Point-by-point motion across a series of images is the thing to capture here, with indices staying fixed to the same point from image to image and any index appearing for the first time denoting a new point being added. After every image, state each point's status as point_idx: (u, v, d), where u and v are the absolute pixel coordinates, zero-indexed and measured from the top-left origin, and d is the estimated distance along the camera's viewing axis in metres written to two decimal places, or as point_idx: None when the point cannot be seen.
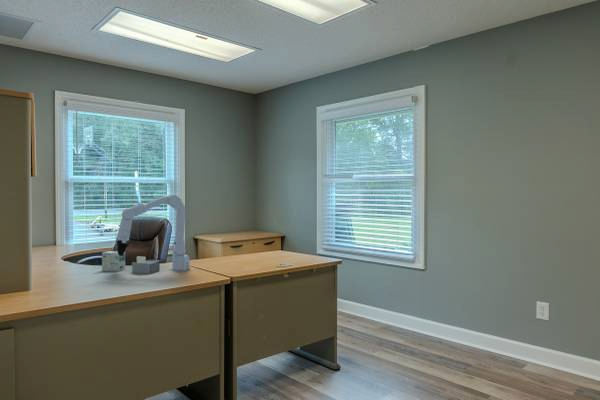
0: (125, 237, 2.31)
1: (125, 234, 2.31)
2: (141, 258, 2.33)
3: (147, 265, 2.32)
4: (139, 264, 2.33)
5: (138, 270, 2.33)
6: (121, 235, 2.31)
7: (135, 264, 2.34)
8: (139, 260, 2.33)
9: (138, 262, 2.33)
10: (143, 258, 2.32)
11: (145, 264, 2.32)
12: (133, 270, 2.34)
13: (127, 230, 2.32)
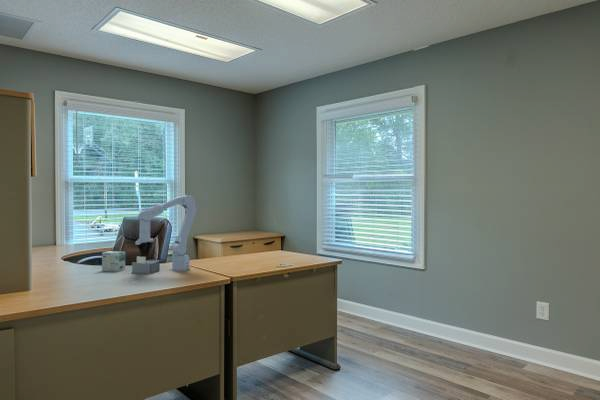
0: (143, 239, 2.33)
1: (142, 236, 2.33)
2: (141, 258, 2.33)
3: (147, 265, 2.32)
4: (139, 264, 2.33)
5: (138, 270, 2.33)
6: (140, 237, 2.34)
7: (135, 264, 2.34)
8: (139, 260, 2.33)
9: (138, 262, 2.33)
10: (143, 258, 2.32)
11: (145, 264, 2.32)
12: (133, 270, 2.34)
13: (148, 231, 2.35)
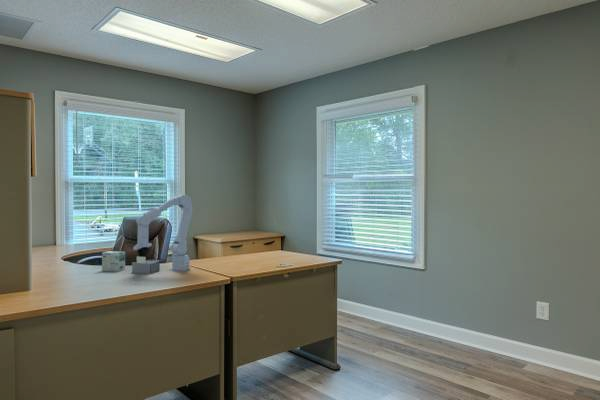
0: (141, 244, 2.32)
1: (140, 241, 2.32)
2: (141, 258, 2.33)
3: (147, 265, 2.32)
4: (139, 264, 2.33)
5: (138, 270, 2.33)
6: (138, 242, 2.32)
7: (135, 264, 2.34)
8: (139, 260, 2.33)
9: (138, 262, 2.33)
10: (143, 258, 2.32)
11: (145, 264, 2.32)
12: (133, 270, 2.34)
13: (146, 236, 2.33)
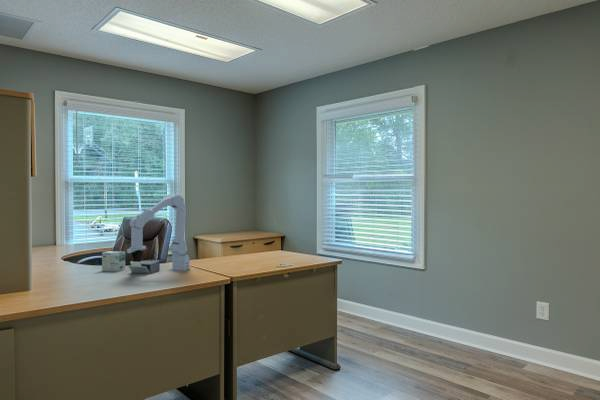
0: (135, 247, 2.26)
1: (134, 244, 2.26)
2: (135, 263, 2.27)
3: (144, 268, 2.29)
4: (136, 267, 2.30)
5: (137, 271, 2.32)
6: (132, 245, 2.27)
7: (132, 267, 2.31)
8: (134, 265, 2.29)
9: (133, 266, 2.30)
10: (137, 264, 2.27)
11: (141, 267, 2.29)
12: (132, 271, 2.33)
13: (141, 239, 2.28)
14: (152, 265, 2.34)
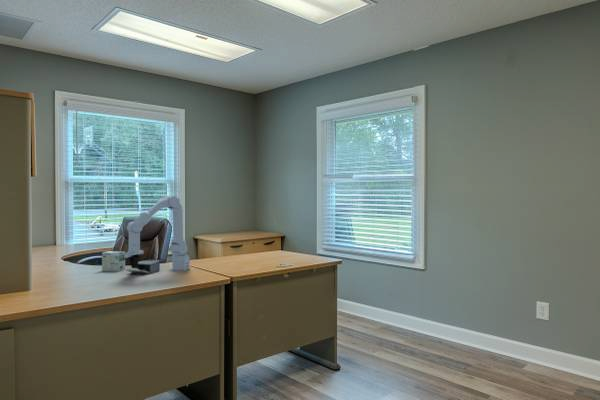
0: (132, 251, 2.24)
1: (131, 248, 2.24)
2: (133, 269, 2.26)
3: (143, 271, 2.28)
4: (134, 271, 2.29)
5: (136, 272, 2.32)
6: (129, 250, 2.25)
7: (131, 270, 2.29)
8: (132, 270, 2.27)
9: (132, 270, 2.28)
10: (135, 270, 2.25)
11: (140, 271, 2.28)
12: (132, 272, 2.33)
13: (138, 243, 2.26)
14: (152, 265, 2.34)
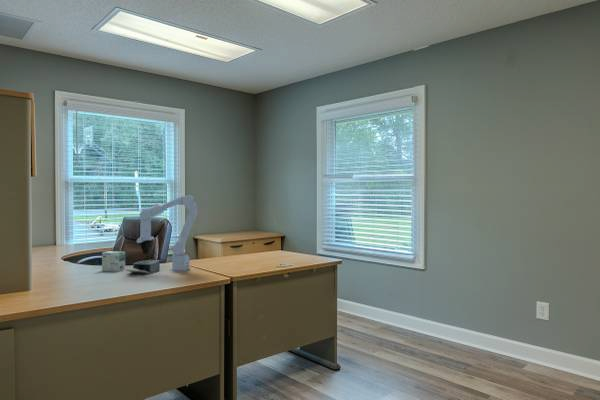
0: (144, 237, 2.41)
1: (143, 234, 2.41)
2: (133, 270, 2.25)
3: (143, 272, 2.28)
4: (134, 271, 2.29)
5: (136, 272, 2.32)
6: (141, 236, 2.42)
7: (131, 271, 2.29)
8: (132, 270, 2.27)
9: (132, 270, 2.28)
10: (135, 270, 2.25)
11: (140, 271, 2.28)
12: (132, 272, 2.33)
13: (146, 230, 2.42)
14: (152, 265, 2.34)
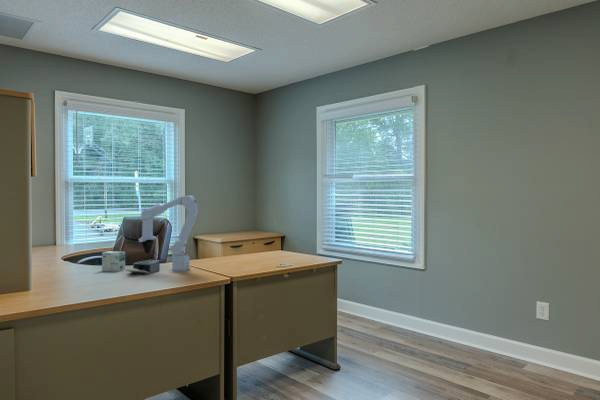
0: (145, 236, 2.45)
1: (145, 233, 2.45)
2: (133, 270, 2.25)
3: (143, 272, 2.28)
4: (134, 271, 2.29)
5: (136, 272, 2.32)
6: (143, 235, 2.45)
7: (131, 271, 2.29)
8: (132, 270, 2.27)
9: (132, 270, 2.28)
10: (135, 270, 2.25)
11: (140, 271, 2.28)
12: (132, 272, 2.33)
13: (147, 229, 2.45)
14: (152, 265, 2.34)
